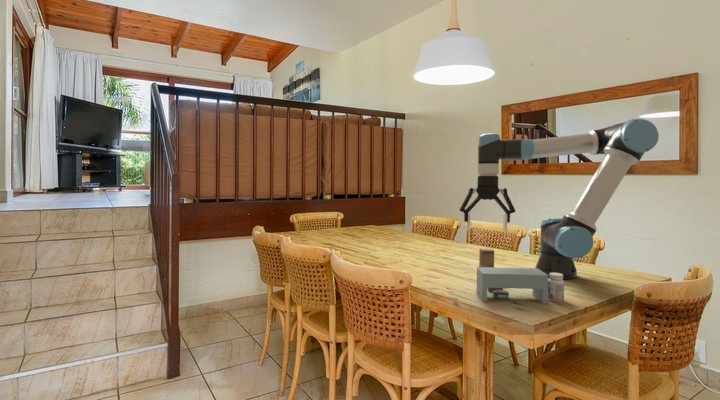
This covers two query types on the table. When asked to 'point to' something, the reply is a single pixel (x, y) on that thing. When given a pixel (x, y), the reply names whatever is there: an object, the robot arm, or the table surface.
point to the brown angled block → (487, 261)
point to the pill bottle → (556, 287)
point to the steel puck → (500, 294)
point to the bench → (512, 280)
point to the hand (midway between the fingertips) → (486, 230)
